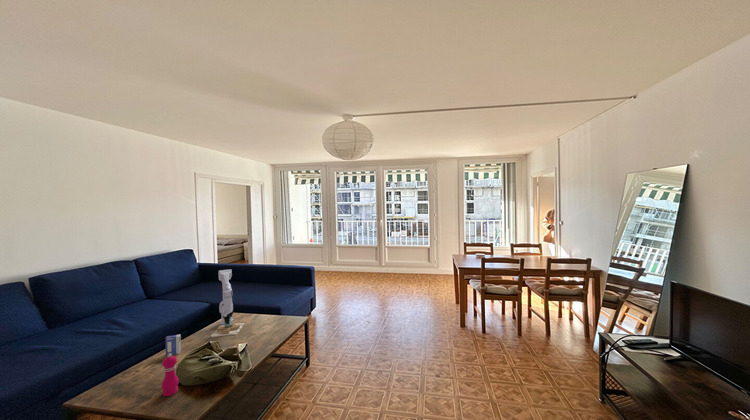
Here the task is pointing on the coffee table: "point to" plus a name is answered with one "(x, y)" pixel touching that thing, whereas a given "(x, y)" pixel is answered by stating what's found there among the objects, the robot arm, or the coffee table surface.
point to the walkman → (173, 344)
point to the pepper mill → (170, 376)
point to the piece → (229, 322)
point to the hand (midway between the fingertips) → (228, 322)
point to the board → (233, 332)
